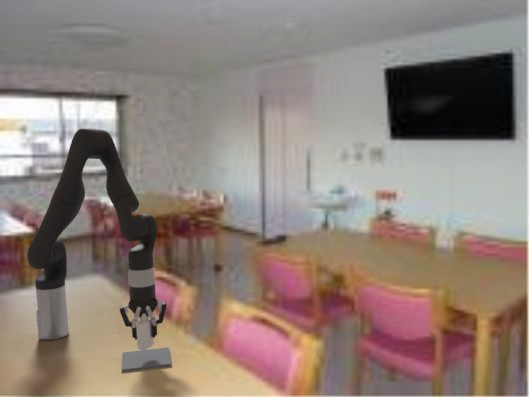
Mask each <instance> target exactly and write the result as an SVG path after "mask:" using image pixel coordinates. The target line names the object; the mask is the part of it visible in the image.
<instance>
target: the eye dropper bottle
mask: <svg viewBox="0 0 529 397" xmlns="http://www.w3.org/2000/svg"><path fill="white" fill-rule="evenodd" d="M136 325H137V326H136V329H137V340H136V343H137V344H136V345H137V349H138V350H139V351H140V350H149V349H151V347H152V346H154V343H155V342H154V339H155V338H153V334H152V322H151V320H150V318H149V316H147V315H146V314H142V317H139V320H138V321H137V324H136Z"/></svg>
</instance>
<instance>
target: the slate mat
mask: <svg viewBox="0 0 529 397" xmlns="http://www.w3.org/2000/svg"><path fill="white" fill-rule="evenodd" d="M170 355H171V354H170V347H159V348H148V349H145V350H140V349H139V350H132V351H125V352H122V355H121V356H122V357H121V358H122V359H121V373H126V371H128V372H134V371H135V370H136V371H144V370H151V369H152V368H153V369H160V367H161V368H168V367H169V368H170V367H172V360H171V356H170ZM143 369H144V370H143Z"/></svg>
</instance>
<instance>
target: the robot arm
mask: <svg viewBox="0 0 529 397" xmlns="http://www.w3.org/2000/svg"><path fill="white" fill-rule="evenodd" d="M70 142H71V143H70V145H69V149H68V153H67V157H66V159H65V164H64V167H63V168H62V169H63V170H62V172H61V175H60V177H59V179H58V182H57V184H56V186H55V190H54V191H53V194H52V197H51V199H50V202H49V204H48V208H47V210H46V212H45V215H44V217H43V219H42V221H41V224H40V225H39V228H38V230H37V231H36V233H35V235H34V236H33V239H32V241H31V242H30V244H29V247H28V249H27V254H26V257H27V258H26V259H27V262H28V264H29V266H30V267H31V268H33V269H35V270H42V272H41V273H40V275H39V276H37V278H36V279H35V281H34V282H35V285H34V286H35V295H36V308H37V310H36V313H35V314H36V324H37V325H36V326H37V335H38V336H37V337H38V338H37V339H38V340H45V341H53V340H58V339H61V338H64V337H66V336H68V335H69V333H70V330H69V317H68V316H69V315H68V304H67V292H66V278H67V275H68V267H67V266H68V265H67V264H68V263H67V262H68V261H67V260H68V259H67V248H66V245H65V244H64V242H63V241H62V239H60V237H59V236H60V235H61V234H62V233H63V232H64V231H65V230H66V229H67V228H68V227H69V226H70V225H71V223H72V222H73V221H74V220H75V219H76V218H77V216H78V214H79V213H80V211H81V208H82V205H83V203H84V200H85V197H86V190H85V185H84V180H83V170H84V168H85V166H86V163H87V161H88V160H90V159H92V160H99V161H101V163H102V165H103V166H104V168H105V170H106V179H105V180H106V181H105V182H106V183H105V184H106V185H105V188H106V193H107V196H108V198H109V200H110V202H111V204H112V205H113V207H114V209H115V213H116V216H117V221H118V226H119V232H120V234H121V236H122V237H123V239H125V240H127V241H128V242H136V241H138V244H137V245H135V246H133V247H132V248H130V249H129V250H128V253H127V254H128V255H127V257H128V280H127V281H128V282H127V283H128V291H129V292H128V293H129V302H128V304H126V305H120V307H119V313H120V316H121V318H122V320H123V322H124V327H130V328H131V336H132V338H133V339H134V340H135V341H137V329H136V326H137V323H138V322H139V318H140V317H142V314H146V315H147V316H148V318H149V319H150V320H151V322H152V334H153V338H154V339H155V338H156V336H158V325H159V324H162V323H163V322H164V318H165V314H166V310H167V302H166V301H158V300H157V295H156V294H157V293H156V292H157V291H156V277H155V276H156V275H155V268H154V256H153V253H154V249H155V244H156V239H157V236H158V223H157V220H156V218H155V217H154V215H152V214H149V213H145V214H139V215H133V214H132V213H135V211H137V210H138V209H139V208H140V201H139V199H138V197H137V195H136V194H135V191H134V190H133V188H132V186H131V184H130V182H129V180H128V178H127V176H126V173H125V171H124V168H123V166H122V161H121V159H120V156H119V153H118V150H117V147H116V144H115V142H114V140H113V137H112V135H111V134H110V133H109V132H108V131H107V130H104V129H100V128H90V127H81V128H79V129H77V131H75V133H74V134H73V136H72V139H71V141H70ZM157 307H158V309H159V315H158V317H157V318H156V316H155V313H154V311H155V310H156V308H157ZM129 310H130V311H131V312H132V313H133V317H132V320H130V319H129V316H128V313H129Z"/></svg>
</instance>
